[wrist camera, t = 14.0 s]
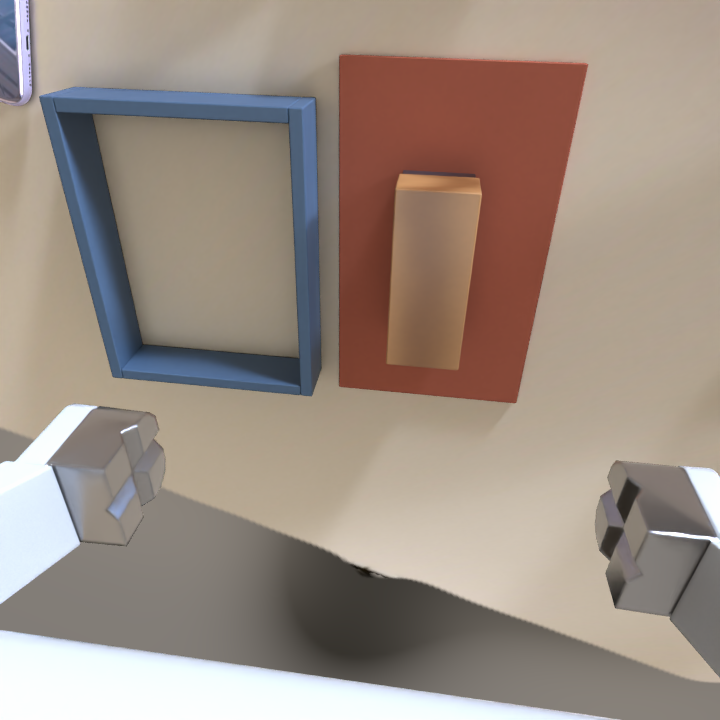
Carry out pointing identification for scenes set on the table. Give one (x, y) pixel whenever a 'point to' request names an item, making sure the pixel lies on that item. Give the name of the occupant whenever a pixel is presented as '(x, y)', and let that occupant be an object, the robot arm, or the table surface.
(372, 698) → the robot arm
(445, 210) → the brown rectangular block
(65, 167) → the rectangular frame
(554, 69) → the mat
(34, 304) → the table surface
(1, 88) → the mobile phone
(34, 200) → the table surface
